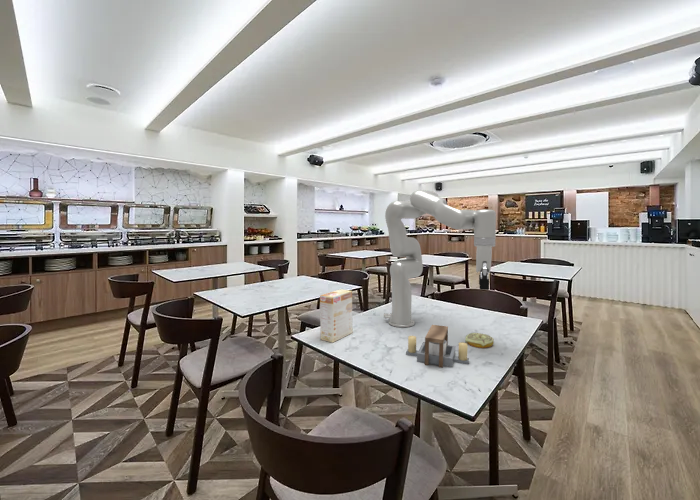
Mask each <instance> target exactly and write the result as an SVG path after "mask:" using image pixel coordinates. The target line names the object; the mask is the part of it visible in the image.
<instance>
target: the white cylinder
mask: <svg viewBox="0 0 700 500" xmlns="http://www.w3.org/2000/svg"><path fill="white" fill-rule="evenodd" d="M446 344H447V341H446V340H445V339H444V342H443V356H446V354H445V353H446ZM429 354H432V355H439V343H437V342H429Z"/></svg>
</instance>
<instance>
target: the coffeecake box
mask: <svg viewBox="0 0 700 500" xmlns="http://www.w3.org/2000/svg"><path fill="white" fill-rule="evenodd" d="M319 314H320V315H319V319H320V322H319V323H320V340H322V341H325V342H328V343H335V342H337V341H339V340H341V339H343V338H346V337H348V336H349V335H352V334H353V333H354V332H353V290H348V289H341V288H340V289H337V290H333V291H330V292H326V293H324V294H320V295H319Z"/></svg>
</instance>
